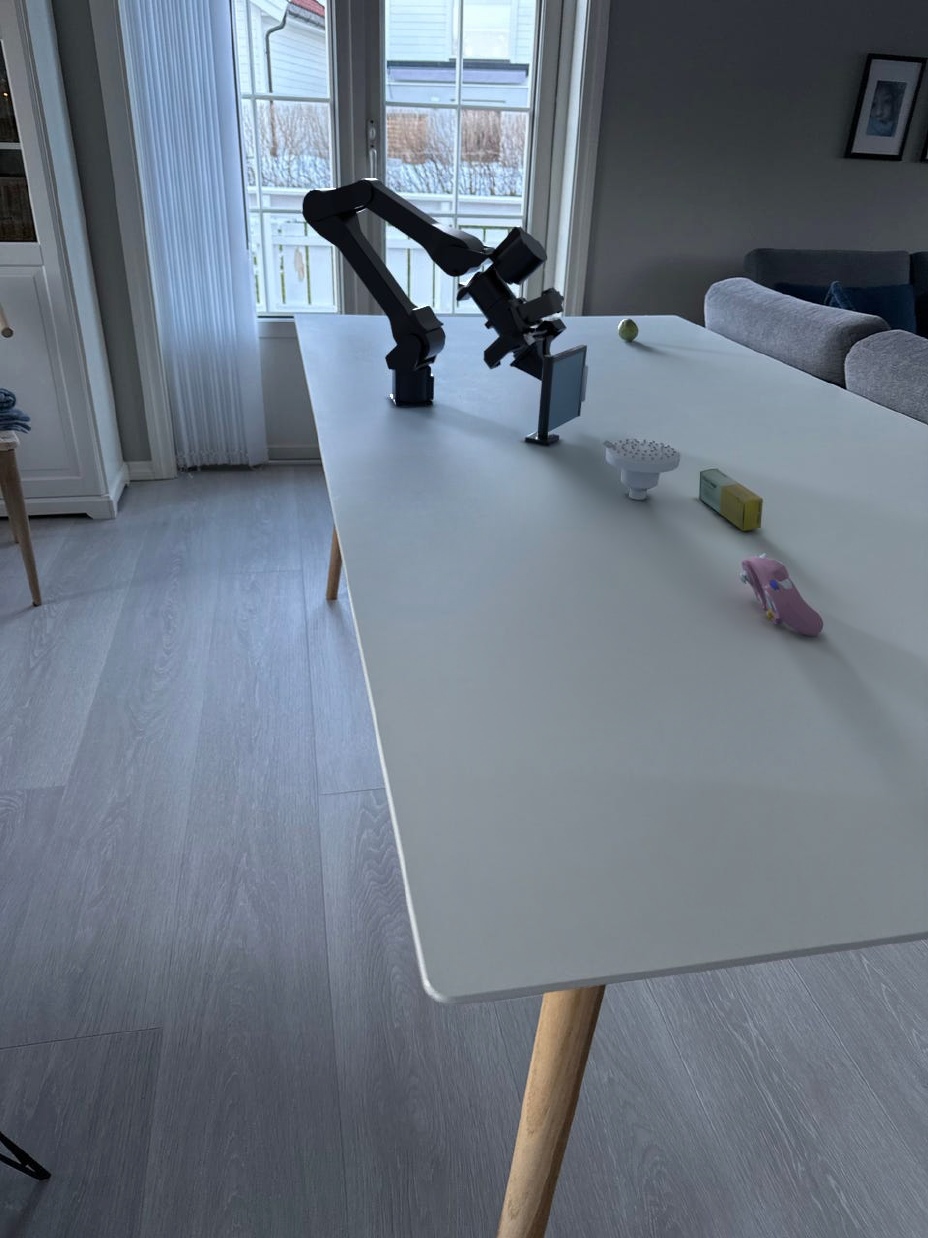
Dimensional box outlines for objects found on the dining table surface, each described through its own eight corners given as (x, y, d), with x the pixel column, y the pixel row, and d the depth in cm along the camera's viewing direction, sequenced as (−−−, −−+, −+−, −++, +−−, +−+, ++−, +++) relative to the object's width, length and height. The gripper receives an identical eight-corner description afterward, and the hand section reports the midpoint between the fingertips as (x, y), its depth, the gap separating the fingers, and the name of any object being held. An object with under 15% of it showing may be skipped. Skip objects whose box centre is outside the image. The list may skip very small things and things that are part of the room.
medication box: (697, 498, 119) (698, 470, 117) (715, 496, 120) (717, 467, 118) (741, 532, 109) (744, 500, 107) (762, 528, 109) (765, 497, 107)
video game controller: (746, 606, 95) (728, 552, 92) (787, 588, 95) (770, 533, 91) (783, 653, 86) (764, 595, 83) (829, 634, 86) (811, 575, 83)
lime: (616, 338, 215) (618, 316, 213) (636, 339, 215) (639, 317, 212) (616, 341, 211) (619, 319, 209) (637, 342, 211) (640, 320, 208)
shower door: (542, 431, 140) (548, 356, 134) (574, 414, 149) (581, 344, 144) (556, 434, 139) (562, 358, 133) (587, 417, 148) (594, 346, 143)
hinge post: (524, 441, 139) (530, 356, 133) (536, 435, 142) (542, 351, 136) (548, 446, 137) (555, 359, 131) (559, 440, 140) (566, 355, 134)
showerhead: (605, 429, 120) (681, 436, 119) (599, 481, 124) (673, 488, 122) (600, 450, 112) (682, 458, 111) (594, 505, 116) (673, 513, 114)
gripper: (505, 276, 131) (567, 364, 131) (559, 265, 145) (616, 344, 145) (457, 326, 138) (516, 409, 138) (513, 310, 152) (567, 385, 152)
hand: (556, 385), depth 143 cm, fingers closed
